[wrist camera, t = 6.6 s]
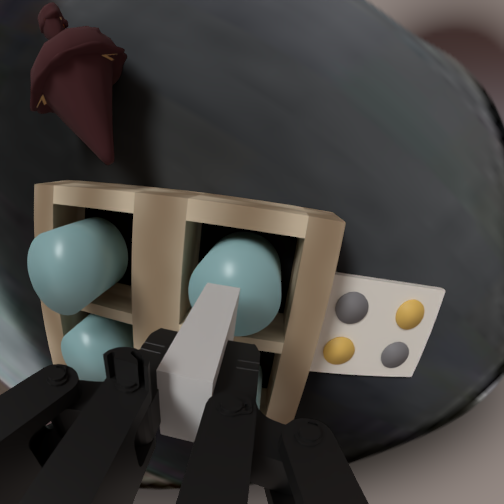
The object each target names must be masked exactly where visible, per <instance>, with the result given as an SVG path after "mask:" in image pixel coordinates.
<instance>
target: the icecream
mask: <svg viewBox="0 0 504 504" xmlns="http://www.w3.org/2000/svg"><path fill="white" fill-rule="evenodd" d="M38 21H39V27H40V31H41V33H44V35H45V37H46V38H47V39H48V41H47V42H46V43H44V45H43V47H42V49H41V51H40V52H39V54H38V56H37V58H36V60H35V62H34V65H33V67H32V69H31V100H30V110H31V111H38V113H40V114H44V113H48V112H52V113H56V114H57V115H58V116H59V117H60V118H61V119H62V121H63V122H64V123H65V124H66V125H67V126H68V127H69V128H70V129H71V130H72V131H73V132H74V133H75V134H76V135H77V136H78V137H79V138H80V139H81V140H82V141H83V142H84V143H85V144H86V145H87V146H88V147H89V148H90V149H91V150H92V151H93V152H94V153H95V154H96V156H97V157H98V158H99V159H100V160H102V161H103V162H104V163H105V164H106V165H110V164H112V163H113V162H114V143H113V122H112V85H113V84H114V83H116V82H117V81H118V80H119V78H120V76H121V74H122V69H123V65H124V62H125V61H126V59H127V55H126V54H125V53H124V51H125V50H124V49H123V48H120V47H117V46H116V45H115V44H114V43H113V41H112V40H111V39H110V38H109V37H107V36H106V35H104V34H102V33H101V32H100V30H99V28H96V27H93V28H92V27H89V26H83V27H76V28H67V27H68V22H67V20H65V19H64V17H63V16H62V13H61V11H60V9H59V7H58V6H57V5H56V4H55V3H53V2H52V3H48V4H47V5H45V6H44V7H43V8H42V9H41V11H40V13H39V16H38ZM65 28H66V29H65Z"/></svg>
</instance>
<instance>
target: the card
mask: <svg viewBox="0 0 504 504" xmlns="http://www.w3.org/2000/svg"><path fill="white" fill-rule="evenodd" d="M444 294H445V290H444V289H443V288H440V287H433V286H426V285H419V284H413V283H406V282H399V281H392V280H386V279H379V278H372V277H366V276H359V275H352V274H346V273H339V272H335V276H334V280H333V284H332V289H331V293H330V297H329V301H328V305H327V309H326V313H325V317H324V321H323V324H322V328H321V332H320V336H319V339H318V343H317V346H316V350H315V353H314V357H313V360H312V364H311V367H310V370H309V371H314V372H324V373H336V374H349V375H366V376H390V377H412V375H413V372H414V370H415V368H416V366H417V364H418V362H419V359H420V357H421V355H422V352H423V350H424V348H425V345H426V343H427V340H428V338H429V335H430V333H431V330H432V328H433V325H434V322H435V320H436V317H437V314H438V311H439V309H440V306H441V303H442V300H443V297H444Z"/></svg>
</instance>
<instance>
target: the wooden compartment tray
mask: <svg viewBox="0 0 504 504" xmlns="http://www.w3.org/2000/svg"><path fill="white" fill-rule="evenodd" d="M85 207H87V208H95V209H103V210H111V211H119V212H127V213H133V232H132V286H129V285H125V284H120V283H116V284H114V285H113V286H112V287H110V288H109V289H108V290H106V291H105V292H104V293H102V294H101V295H100V296H99V297H97V298H96V299H95V300H93V301H92V302H91V303H89V304H88V305H87V306H86V307H84V308H83V309H82V310H80V311H79V312H78V313H76V314H73V315H62V314H59V313H56V312H55V311H53V310H51V309H50V308H49V307H47V306H46V305H45V304H44V303H43V301H42V300H41V306H42V312H43V318H44V324H45V329H46V334H47V339H48V343H49V348H50V352H51V357H52V361H53V365H54V364H63V365H67V364H66V363H65V360H64V358H63V356H62V352H61V341H62V339H63V337H64V336H65V335H66V334H67V333H68V332H69V331H70V330H72V329H73V328H74V327H75V326H76V325H77V324H79V323H80V322H81V321H82V320H83V319H85V318H86V317H87V316H88V315H89V313H92V314H95V315H99V316H102V317H106V318H109V319H113V320H117V321H120V322H124V323H128V324H132V325H133V342H134V348H136V349H138V350H139V349H140V348H141V346H142V345H143V343H145V341H146V339H147V338H148V336H149V335H150V334H151V333H152V332H154V331H156V330H158V329H160V328H163V329H168V330H173V331H177V332H179V330H180V328H181V326H182V325H183V323H184V321H185V319H186V318H187V316H188V314H189V313H190V311H191V309H192V306H191V304H190V300H189V294H188V287H189V281H190V278H191V275H192V273H193V271H194V270H195V268H196V267H197V265H198V261H199V250H200V239H201V229H202V223H207V224H214V225H221V226H228V227H234V228H241V229H248V230H254V231H261V232H267V233H274V234H280V235H286V236H293V237H298V238H297V244H296V250H295V255H294V261H293V266H292V271H291V277H290V282H289V287H288V292H287V298H286V303H285V308H284V313H277V315H276V316H275V318H274V319H273V320H272V322H271V323H270V324H269V325H268V326H267V327H265V328H264V329H262V330H261V331H259V332H257V333H254V334H251V335H247V336H234V339H233V341H236V342H243V343H249V344H255V345H256V346H257V348H258V350H259V351H266V352H273V353H275V356H274V360H273V365H272V369H271V374H270V378H269V382H268V387H267V388H261V398H260V409H259V410H260V411H261V412H262V413H263V414H264V415H265V416H267V417H268V418H270V419H272V420H274V421H277V422H280V423H282V424H285V425H286V424H288V423H289V422H290V421H292V420H294V417H295V414H296V411H297V408H298V405H299V402H300V399H301V396H302V393H303V390H304V387H305V383H306V380H307V377H308V374H309V370H310V367H311V364H312V360H313V357H314V353H315V350H316V346H317V343H318V339H319V336H320V332H321V328H322V324H323V321H324V317H325V313H326V309H327V305H328V301H329V297H330V293H331V289H332V284H333V280H334V276H335V271H336V267H337V262H338V258H339V253H340V249H341V244H342V239H343V234H344V229H345V224H346V222H344V221H343V220H342V219H341V218H339V217H338V216H337V215H335V214H334V213H333V212H327V211H322V210H316V209H310V208H304V207H298V206H292V205H286V204H280V203H273V202H267V201H260V200H253V199H246V198H239V197H232V196H224V195H217V194H209V193H201V192H192V191H184V190H175V189H166V188H157V187H147V186H136V185H125V184H114V183H101V182H88V181H73V180H65V181H56V182H48V183H40V184H35V189H34V231H35V238H36V237H37V236H38V235H39V234H41V233H44V232H47V231H50V230H53V229H56V228H59V227H62V226H65V225H68V224H71V223H74V222H77V221H81V220H84V219H85ZM79 380H80V379H79Z"/></svg>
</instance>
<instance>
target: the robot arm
mask: <svg viewBox="0 0 504 504" xmlns="http://www.w3.org/2000/svg"><path fill="white" fill-rule="evenodd" d="M239 295H240V288H237V287H231V286H225V285H219V284H213V283H207V284H206V285H205V287H204V289H203V291H202V292H201V294H200V296H199V297H198V299H197V301H196V302H195V304H194V306H193V308H192V309H191V311H190V313H189V314H188V316H187V318H186V319H185V321H184V323H183V325H182V326H181V328H180V330H179V332H177V331H173V330H168V329H163V328H160V329H158V330H156V331H154V332H152V333H151V334H150V335H149V336H148V338H147V339H146V341H145V343H143V345H142V346H141V348H140V349H139V350H138V349H136V348H131V347H116V348H113V349H110V350H108V351H107V352H105V353H104V354H103V359H104V366H105V372H106V379H105V380H104V381H103V382H100V381H86V380H79V377H78V374H77V372H76V371H75V370H74V369H73V368H72V367H70V366H67V365H63V364H54V365H49V366H47V367H45V368H43V369H41V370H40V371H38V372H36V373H35V374H33V375H32V376H30V377H28V378H27V379H25V380H24V381H22V382H20V383H19V384H17V385H16V386H14V387H12V388H11V389H9V390H8V391H6V392H5V393H3V394H1V395H0V504H133V501H134V498H135V496H136V494H137V491H138V489H139V486H140V484H141V481H142V479H143V476H144V474H145V471H146V469H147V466H148V464H149V461H150V459H151V456H152V454H153V451H154V449H155V446H156V435H155V434H156V432H157V430H158V427H159V425H160V432H161V434H163V435H167V436H171V437H175V438H179V439H183V440H187V441H192V442H194V445H193V448H192V451H191V455H190V458H189V461H188V465H187V468H186V471H185V475H184V478H183V481H182V485H181V488H180V491H179V496H178V498H177V502H176V504H247V502H248V493H249V484H250V482H252V483H254V484H257V485H259V486H262V487H264V489H265V493H266V497H267V501H268V504H368V502H367V500H366V498H365V496H364V494H363V492H362V490H361V488H360V486H359V484H358V482H357V480H356V478H355V476H354V474H353V472H352V470H351V468H350V466H349V464H348V462H347V460H346V458H345V456H344V454H343V452H342V450H341V448H340V446H339V444H338V442H337V440H336V438H335V436H334V434H333V432H332V431H331V430H330V429H329V427H328V426H326V425H325V424H323V423H322V422H320V421H317V420H314V419H310V418H299V419H295V420H292V421H290V422H289V423H288V424H286V425H285V424H282V423H280V422H277V421H274V420H272V419H270V418H268V417H267V416H265V415H264V414H263V413H262V412H261V411H260V410H259V408H258V406H257V403H256V396H257V385H258V374H259V363H260V352H259V350H258V348H257V346H256V345H255V344H249V343H243V342H236V341H233V339H234V332H235V324H236V317H237V309H238V302H239ZM50 421H51V422H52V423H51V424H49V425H47V426H46V424H47V423H49V422H50Z"/></svg>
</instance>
